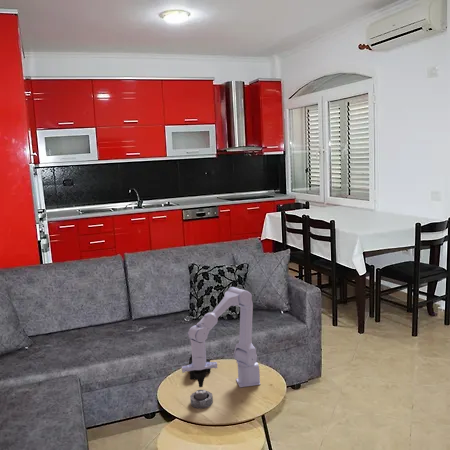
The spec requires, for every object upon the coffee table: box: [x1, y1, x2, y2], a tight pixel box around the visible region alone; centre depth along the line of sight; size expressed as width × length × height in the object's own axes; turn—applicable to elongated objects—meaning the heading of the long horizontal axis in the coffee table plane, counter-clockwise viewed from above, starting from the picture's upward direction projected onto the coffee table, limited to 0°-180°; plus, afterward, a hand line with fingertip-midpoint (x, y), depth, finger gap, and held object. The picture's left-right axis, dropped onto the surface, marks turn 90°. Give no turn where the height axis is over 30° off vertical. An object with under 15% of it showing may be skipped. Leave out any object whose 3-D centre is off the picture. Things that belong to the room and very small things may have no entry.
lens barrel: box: [190, 390, 214, 410], centre depth 193 cm, size 9×9×3 cm
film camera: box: [188, 353, 212, 381], centre depth 220 cm, size 15×10×9 cm, turn 178°
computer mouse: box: [194, 389, 208, 400], centre depth 193 cm, size 5×5×4 cm
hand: (200, 386), depth 192 cm, fingers closed
